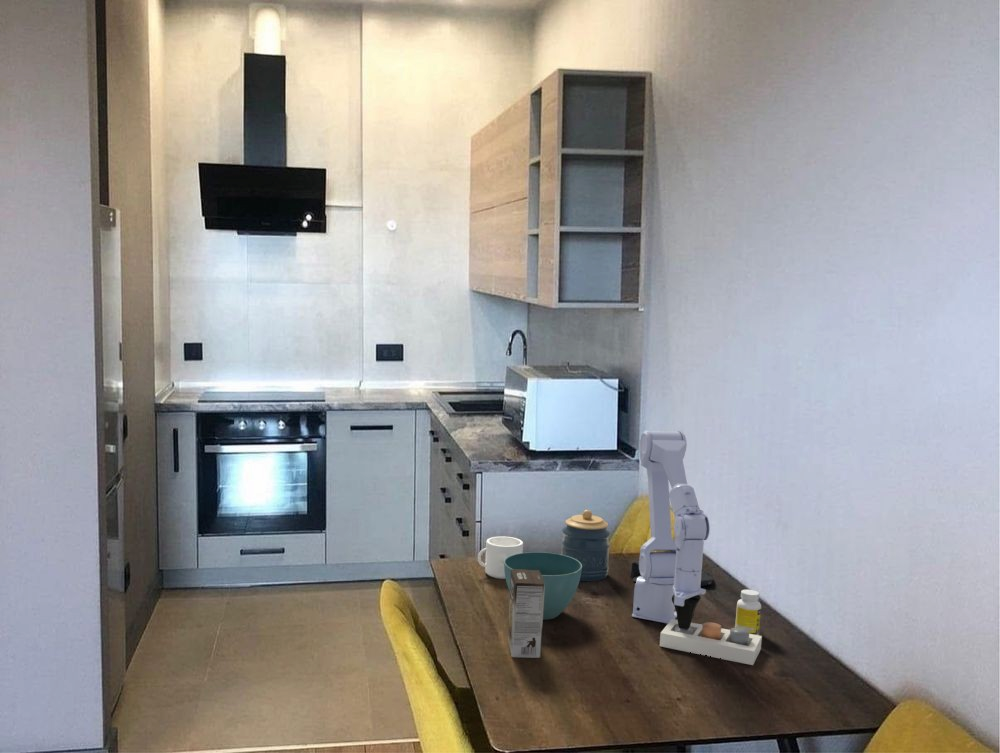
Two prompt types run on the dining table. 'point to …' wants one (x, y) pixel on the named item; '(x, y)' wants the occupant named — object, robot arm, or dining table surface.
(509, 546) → the mug
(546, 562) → the teal bowl
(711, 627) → the orange rounded dome
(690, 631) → the left grey button
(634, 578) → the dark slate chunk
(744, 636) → the right grey button
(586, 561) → the canister
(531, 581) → the coffee box
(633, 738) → the dining table surface
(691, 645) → the button panel
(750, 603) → the supplement bottle
